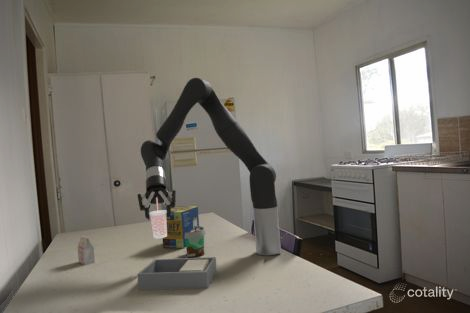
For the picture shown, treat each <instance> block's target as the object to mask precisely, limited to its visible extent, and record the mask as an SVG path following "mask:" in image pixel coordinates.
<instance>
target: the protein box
mask: <svg viewBox="0 0 470 313" xmlns="http://www.w3.org/2000/svg"><path fill="white" fill-rule="evenodd" d="M166 220H167V237H164V238H162V247H163V248H169V249H185V248H186V240H185V233H189V231H190V230H193V229H194V226H200V222H199V221H200V219H199V206H197V205H196V206H193V205H191V206H190V205H189V206H188V205H185V206H184V205H180V206H175V207H171V215H170V216H169V217H167V213H166Z"/></svg>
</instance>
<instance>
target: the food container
mask: <svg viewBox="0 0 470 313" xmlns="http://www.w3.org/2000/svg"><path fill="white" fill-rule="evenodd" d="M206 233H207V232H206V229H205V227H203V226H201V225H199V226H194V229H193V230H190V231H189V233H185V240H186V247H185V248H186V256H187V257H186V258H201V257H202V256H204V255H205V236H206Z"/></svg>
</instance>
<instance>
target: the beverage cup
mask: <svg viewBox="0 0 470 313" xmlns="http://www.w3.org/2000/svg"><path fill="white" fill-rule="evenodd" d="M156 203H157V204H156V209H157V210H153V211H149V215H150V222H151V227H152V228H151V229H152V234H153V239H156V240H159V239H163V238H164V237H167V220H166V213H167V209H160V210H159V203H158V199H157V197H156Z"/></svg>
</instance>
